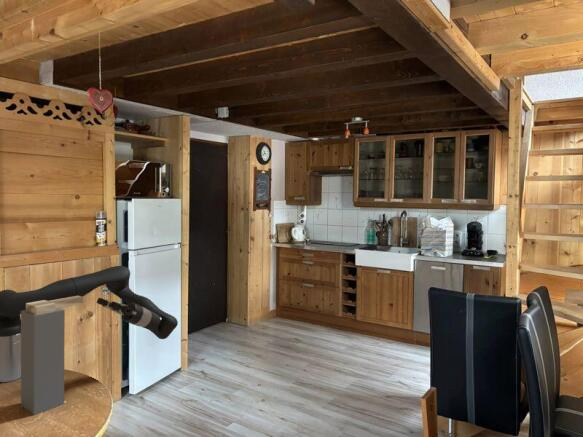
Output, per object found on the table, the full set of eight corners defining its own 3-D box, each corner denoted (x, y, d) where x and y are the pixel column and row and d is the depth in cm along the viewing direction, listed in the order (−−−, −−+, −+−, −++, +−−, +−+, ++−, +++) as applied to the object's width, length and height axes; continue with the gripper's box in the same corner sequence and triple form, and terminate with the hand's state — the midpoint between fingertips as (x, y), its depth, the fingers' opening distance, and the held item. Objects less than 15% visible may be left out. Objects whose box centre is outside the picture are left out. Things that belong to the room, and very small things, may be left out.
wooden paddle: (25, 310, 142) (25, 303, 142) (75, 301, 156) (75, 294, 156) (36, 314, 138) (36, 307, 138) (86, 305, 152) (86, 297, 152)
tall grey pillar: (21, 406, 144) (21, 310, 142) (50, 396, 151) (50, 305, 150) (34, 415, 139) (34, 316, 137) (64, 403, 146) (64, 310, 145)
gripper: (130, 303, 179) (98, 289, 167) (152, 309, 171) (120, 295, 159) (122, 320, 176) (88, 308, 164) (144, 327, 168) (111, 315, 156)
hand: (104, 302), depth 161 cm, fingers open, 8 cm apart
